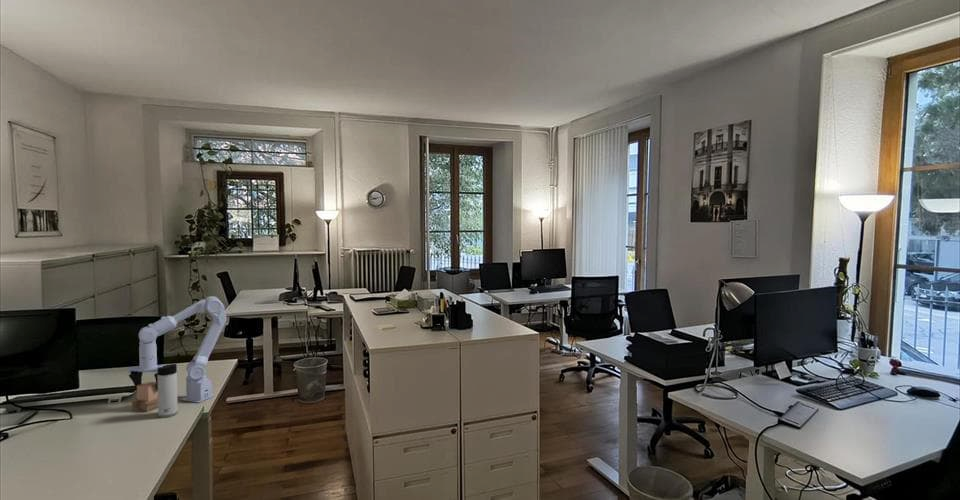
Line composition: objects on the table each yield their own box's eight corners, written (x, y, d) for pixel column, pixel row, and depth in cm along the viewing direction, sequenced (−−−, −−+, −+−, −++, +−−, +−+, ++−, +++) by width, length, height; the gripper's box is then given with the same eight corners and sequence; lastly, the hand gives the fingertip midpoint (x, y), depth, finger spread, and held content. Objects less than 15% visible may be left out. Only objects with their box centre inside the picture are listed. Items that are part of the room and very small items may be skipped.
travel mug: (168, 418, 173) (167, 367, 172) (154, 417, 174) (153, 366, 173) (182, 412, 179) (181, 363, 178) (168, 410, 181) (167, 361, 179)
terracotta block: (160, 396, 186) (160, 382, 185) (148, 401, 180) (148, 386, 180) (149, 395, 187) (149, 381, 186) (137, 400, 181) (136, 385, 181)
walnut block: (166, 405, 186) (165, 395, 186) (146, 412, 179) (146, 403, 179) (151, 402, 189) (151, 393, 188) (132, 410, 181) (131, 400, 181)
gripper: (172, 353, 187) (173, 385, 188) (135, 354, 186) (135, 386, 186) (163, 358, 180) (163, 391, 181) (123, 359, 179) (124, 392, 179)
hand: (148, 389), depth 183 cm, fingers open, 7 cm apart
